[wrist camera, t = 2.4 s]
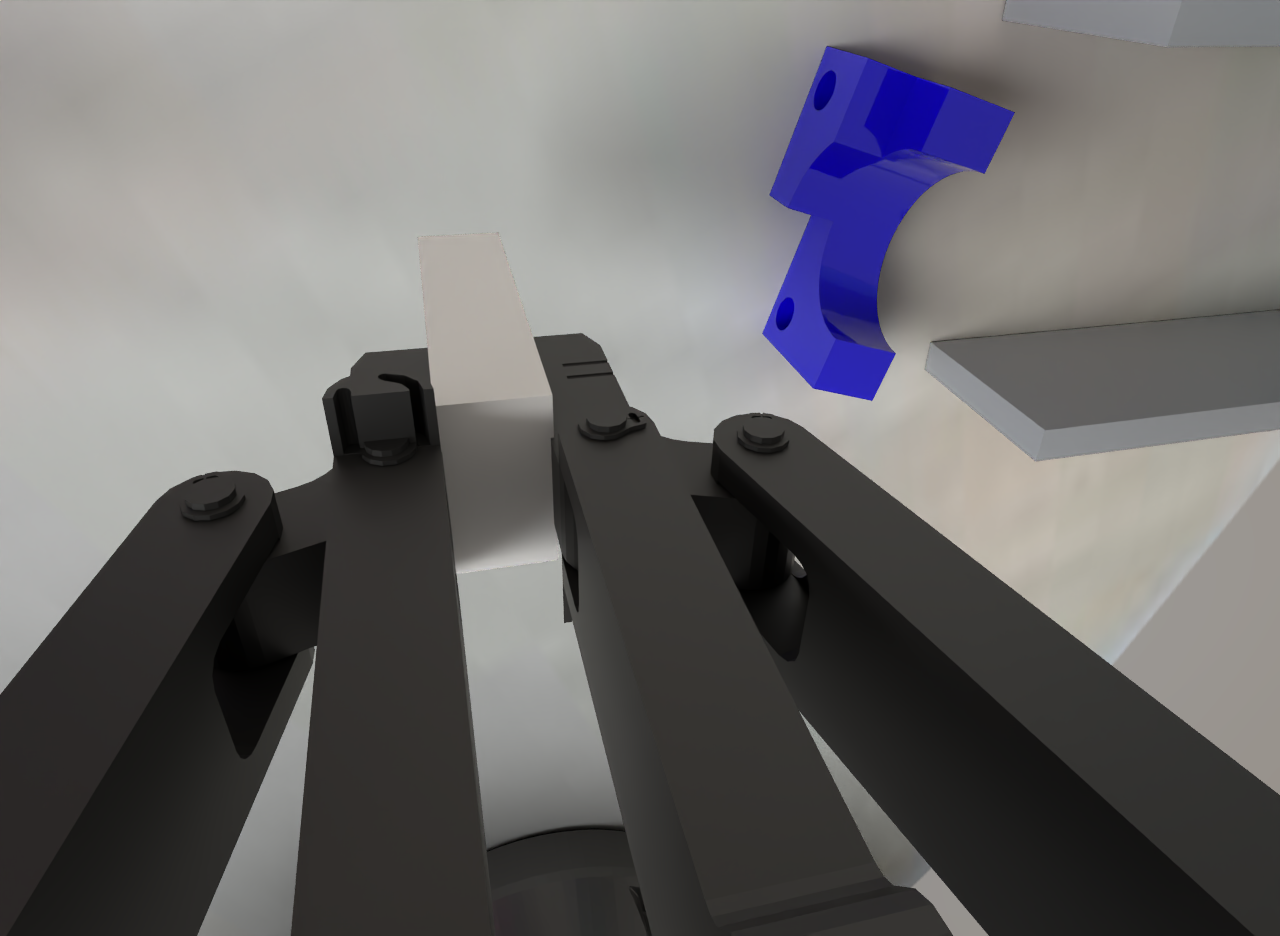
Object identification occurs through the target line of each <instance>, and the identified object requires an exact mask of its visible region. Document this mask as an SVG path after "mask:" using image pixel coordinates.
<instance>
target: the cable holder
mask: <svg viewBox="0 0 1280 936" xmlns="http://www.w3.org/2000/svg"><path fill="white" fill-rule="evenodd" d="M1014 113H1015V112H1013V111H1010V110H1007V109H1005V108H1002V107H1000V106H997V105H995V104H992V103H990V102H987V101H985V100H982V99H980V98H977V97H974V96H972V95H969V94H967V93H964V92H962V91H959V90H957V89H954V88H952V87H949V86H945V85H942V84H938V83H935V82H932V81H928V80H925V79H922V78H918V77H915V76H913V75H910V74H908V73H905V72H903V71H900V70H898V69H895V68H893V67H890V66H887V65H885V64H882V63H880V62H877V61H875V60H872V59H870V58H867V57H863V56H860V55H856V54H853V53H849V52H846V51H842V50H839V49H835V48H832V47H828V46H827V47H826V50H825V52H824V55H823V58H822V60H821V63H820V65H819V68H818V71H817V73H816V76H815V78H814V81H813V84H812V86H811V89H810V91H809V94H808V97H807V99H806V102H805V104H804V107H803V110H802V112H801V115H800V117H799V120H798V122H797V125H796V128H795V130H794V133H793V135H792V138H791V141H790V143H789V146H788V148H787V151H786V154H785V156H784V159H783V161H782V164H781V167H780V169H779V172H778V174H777V177H776V180H775V182H774V185H773V187H772V190H771V193H770V196H771V197H773V198H774V199H776V200H777V201H779V202H780V203H781V204H783V205H784V206H786V207H787V208H790V209H793V210H796V211H800V212H803V213H806V214H810V215H811V217H810V219H809V222H808V224H807V227H806V229H805V231H804V234H803V236H802V239H801V241H800V244H799V246H798V248H797V251H796V253H795V256H794V258H793V261H792V263H791V265H790V268H789V270H788V273H787V275H786V278H785V280H784V282H783V285H782V287H781V290H780V292H779V295H778V297H777V299H776V302H775V304H774V307H773V309H772V312H771V314H770V316H769V319H768V321H767V324H766V326H765V329H764V331H763V333H762V334H763V335H764V336H765V337H766V338H767V339H768V340H769V341H770V342H771V343H772V344H773V346H774V347H775V348H776V349H777V350H778V351H779V352H780V353H781V354H782V355H783V356H784V357H785V358H786V360H787V361H788V362H789V363H790V364H791V365H792V366H793V367H794V368H795V369H796V370H797V371H798V372H799V374H800V375H801V376H802V377H803V378H804V379H805V380H806V381H807V382H808V383H809V384H810V385H811V387H812V388H814V389H818V390H823V391H828V392H833V393H838V394H842V395H847V396H852V397H857V398H862V399H866V400H871V401H872V400H873V398H874V396H875V394H876V392H877V390H878V388H879V386H880V384H881V382H882V380H883V378H884V376H885V374H886V372H887V370H888V368H889V366H890V364H891V362H892V360H893V358H894V356H895V354H896V353H895V352H894V351H893V350H892V349H891V348H890V347H889V345H888V344H887V342H886V340H885V339H884V336H883V334H882V332H881V328H880V325H879V320H878V314H877V288H878V281H879V275H880V271H881V267H882V263H883V260H884V257H885V253H886V251H887V248H888V246H889V243H890V241H891V239H892V237H893V234H894V233H895V231H896V229H897V227H898V225H899V224H900V222H901V220H902V219H903V217H904V216H905V214H906V213H907V211H908V210H909V209H910V207H911V206H912V205H913V204H914V203H915V201H916V200H917V199H918V198H919V197H920V196H921V195H922V194H923V193H924V192H925V191H926V190H927V189H929V188H930V187H931V186H933V185H934V184H935V183H937V182H938V181H940V180H941V179H943V178H945V177H947V176H949V175H952V174H955V173H958V172H963V171H976V172H980V173H983V174H985V172H986V170H987V168H988V166H989V164H990V162H991V160H992V158H993V156H994V154H995V152H996V150H997V148H998V146H999V144H1000V141H1001V139H1002V137H1003V135H1004V133H1005V131H1006V129H1007V127H1008V125H1009V123H1010V121H1011V119H1012V117H1013V115H1014Z"/></svg>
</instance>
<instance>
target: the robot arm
mask: <svg viewBox="0 0 1280 936" xmlns="http://www.w3.org/2000/svg"><path fill="white" fill-rule="evenodd" d="M418 247H419V258H420V269H421V280H422V291H423V302H424V313H425V324H426V335H427V346H428V348H419V349H407V350H394V351H382V352H369V353H365V354H364V355H363V356H362V357H361V358H360V359H359V360H358V361H357V362H356V363H355V365H354V366H353V367H352V368H351V374H350V376H349V377H346V378H344V379H341V380H339V381H338V382H336V383H335V384H334V385H332V386H331V387H329V388H328V389H327V391H326V392H325V394H324V396H323V398H322V401H323V406H324V410H325V415H326V420H327V425H328V430H329V435H330V440H331V445H332V449H333V454H334V460H333V469H331V470H330V471H329V472H328V473H326V474H325V475H323V476H321V477H319V478H317V479H316V480H314V481H312V482H309V483H306V484H303V485H301V486H298V487H295V488H292V489H288V490H285V491H281V492H278V493H275V494H274V490H273V488H272V487H271V485H270V483H269V481H268V480H267V479H265V478H263V477H261V476H259V475H257V474H255V473H248V472H241V471H226V472H212V473H207V474H205V475H199V476H196V477H193V478H191V479H189V480H187V481H185V482H183V483H181V484H179V485H177V486H175V487H173V488H171V489H169V490H168V491H167V492H166V493H165V494H164V495H162V496H161V497H160V498H159V499H158V500H157V501H156V502H155V503H154V504H153V505H152V507H151V508H150V509H149V510H148V512H147V513H146V514H145V515H144V517H143V518H142V519H141V520H140V522H139V523H138V524H137V525H136V526H135V528H134V529H133V530H132V531H131V533H130V534H129V535H128V536H127V538H126V539H125V540H124V541H123V543H122V544H121V545H120V546H119V548H118V549H117V550H116V551H115V553H114V554H113V555H112V556H111V558H110V559H109V560H108V561H107V563H106V564H105V565H104V566H103V568H102V569H101V570H100V571H99V573H98V574H97V575H96V576H95V577H94V579H93V580H92V581H91V582H90V584H89V585H88V586H87V587H86V589H85V590H84V591H83V592H82V594H81V595H80V596H79V597H78V599H77V600H76V601H75V602H74V604H73V605H72V606H71V607H70V609H69V610H68V611H67V612H66V614H65V615H64V616H63V617H62V619H61V620H60V621H59V622H58V624H57V625H56V626H55V627H54V628H53V630H52V631H51V632H50V633H49V635H48V636H47V637H46V638H45V640H44V641H43V642H42V643H41V645H40V646H39V647H38V648H37V650H36V651H35V652H34V653H33V655H32V656H31V657H30V658H29V660H28V661H27V662H26V663H25V665H24V666H23V667H22V668H21V670H20V671H19V672H18V673H17V675H16V676H15V677H14V678H13V679H12V681H11V682H10V683H9V684H8V686H7V687H6V688H5V689H4V691H3V692H2V693H1V694H0V936H197V934H198V932H199V930H200V927H201V925H202V923H203V920H204V918H205V916H206V913H207V911H208V908H209V906H210V904H211V901H212V899H213V897H214V894H215V892H216V890H217V887H218V885H219V883H220V880H221V878H222V876H223V873H224V871H225V868H226V866H227V864H228V861H229V859H230V857H231V854H232V852H233V850H234V847H235V845H236V843H237V840H238V838H239V836H240V833H241V831H242V828H243V826H244V824H245V821H246V819H247V817H248V814H249V812H250V810H251V807H252V805H253V803H254V800H255V798H256V796H257V793H258V791H259V789H260V786H261V784H262V781H263V779H264V777H265V774H266V772H267V770H268V767H269V765H270V763H271V760H272V758H273V756H274V753H275V751H276V749H277V746H278V744H279V741H280V739H281V737H282V734H283V732H284V730H285V727H286V725H287V723H288V720H289V718H290V716H291V713H292V711H293V709H294V706H295V704H296V701H297V699H298V697H299V694H300V692H301V690H302V687H303V685H304V683H305V680H306V678H307V676H308V673H309V671H310V669H311V666H312V664H313V658H314V651H315V649H314V646H317V650H316V661H315V672H314V684H313V695H312V706H311V717H310V728H309V739H308V751H307V762H306V773H305V784H304V795H303V806H302V818H301V829H300V840H299V851H298V862H297V873H296V885H295V896H294V907H293V918H292V929H291V936H953V935H952V933H951V932H950V930H949V928H948V927H947V925H946V924H945V922H944V921H943V919H942V918H941V916H940V915H939V913H938V912H937V910H936V909H935V907H934V906H933V904H932V903H931V902H930V901H928V900H927V899H926V898H925V897H924V896H923V895H922V894H921V893H920V892H918V891H917V890H916V889H914V888H907V887H900V886H893V885H892V884H891V883H890V882H889V881H888V880H887V879H886V878H885V877H884V876H883V875H882V873H881V871H880V870H879V868H878V866H877V865H876V863H875V861H874V859H873V857H872V855H871V854H870V852H869V850H868V848H867V846H866V844H865V842H864V840H863V838H862V836H861V834H860V832H859V830H858V828H857V826H856V824H855V822H854V820H853V818H852V816H851V814H850V812H849V810H848V808H847V806H846V804H845V802H844V800H843V798H842V796H841V794H840V792H839V790H838V788H837V786H836V784H835V782H834V780H833V778H832V776H831V774H830V772H829V770H828V768H827V766H826V764H825V762H824V760H823V758H822V756H821V754H820V752H819V750H818V748H817V746H816V744H815V742H814V740H813V738H812V736H811V734H810V732H809V730H808V728H807V726H806V724H805V722H804V720H803V718H802V716H801V714H802V715H803V716H804V717H805V718H806V720H807V721H808V722H809V723H810V724H811V725H812V727H813V728H814V729H815V730H816V731H817V733H818V734H819V735H820V736H821V737H822V739H823V740H824V741H825V742H826V743H827V744H828V746H829V747H830V748H831V749H832V750H833V752H834V753H835V754H836V755H837V756H838V757H839V759H840V760H841V761H842V762H843V763H844V765H845V766H846V767H847V768H848V769H849V770H850V772H851V773H852V774H853V775H854V776H855V778H856V779H857V780H858V781H859V782H860V783H861V785H862V786H863V787H864V788H865V789H866V791H867V792H868V793H869V794H870V795H871V797H872V798H873V799H874V800H875V801H876V802H877V804H878V805H879V806H880V807H881V808H882V810H883V811H884V812H885V813H886V814H887V815H888V817H889V818H890V819H891V820H892V821H893V823H894V824H895V825H896V826H897V827H898V828H899V830H900V831H901V832H902V833H903V834H904V836H905V837H906V838H907V839H908V840H909V842H910V843H911V844H912V845H913V846H914V847H915V849H916V850H917V851H918V852H919V853H920V855H921V856H922V857H923V858H924V859H925V860H926V862H927V863H928V864H929V865H930V866H931V868H932V869H933V870H934V871H935V872H936V873H937V875H938V876H939V877H940V878H941V879H942V881H943V882H944V883H945V884H946V885H947V886H948V888H949V889H950V890H951V891H952V892H953V894H954V895H955V896H956V897H957V898H958V900H959V901H960V902H961V903H962V904H963V905H964V907H965V908H966V909H967V910H968V911H969V913H970V914H971V915H972V916H973V917H974V918H975V920H976V921H977V922H978V923H979V924H980V925H981V927H982V928H983V929H984V930H985V931H986V933H987V934H988V935H989V936H1280V795H1279V794H1278V793H1276V792H1275V791H1274V790H1272V789H1271V788H1270V787H1268V786H1267V785H1266V784H1265V783H1263V782H1262V781H1261V780H1259V779H1258V778H1257V777H1256V776H1254V775H1253V774H1252V773H1250V772H1249V771H1248V770H1246V769H1245V768H1244V767H1243V766H1241V765H1240V764H1239V763H1237V762H1236V761H1235V760H1233V759H1232V758H1231V757H1230V756H1228V755H1227V754H1226V753H1224V752H1223V751H1222V750H1220V749H1219V748H1218V747H1217V746H1215V745H1214V744H1213V743H1211V742H1210V741H1209V740H1208V739H1206V738H1205V737H1204V736H1202V735H1201V734H1200V733H1198V732H1197V731H1196V730H1195V729H1193V728H1192V727H1191V726H1189V725H1188V724H1187V723H1185V722H1184V721H1183V720H1182V719H1180V718H1179V717H1178V716H1176V715H1175V714H1174V713H1173V712H1171V711H1170V710H1169V709H1167V708H1166V707H1165V706H1163V705H1162V704H1161V703H1160V702H1158V701H1157V700H1156V699H1154V698H1153V697H1152V696H1150V695H1149V694H1148V693H1147V692H1145V691H1144V690H1143V689H1141V688H1140V687H1139V686H1138V685H1136V684H1135V683H1134V682H1132V681H1131V680H1129V679H1128V678H1127V677H1126V676H1124V675H1123V674H1122V673H1121V672H1119V671H1118V670H1117V669H1115V668H1114V667H1113V666H1112V665H1110V664H1109V663H1108V662H1106V661H1105V660H1104V659H1103V658H1101V657H1100V656H1099V655H1097V654H1096V653H1095V652H1093V651H1092V650H1091V649H1090V648H1088V647H1087V646H1086V645H1084V644H1083V643H1082V642H1080V641H1079V640H1078V639H1077V638H1075V637H1074V636H1073V635H1071V634H1070V633H1069V632H1068V631H1066V630H1065V629H1064V628H1062V627H1061V626H1060V625H1058V624H1057V623H1056V622H1055V621H1053V620H1052V619H1051V618H1049V617H1048V616H1047V615H1045V614H1044V613H1043V612H1042V611H1040V610H1039V609H1038V608H1036V607H1035V606H1034V605H1033V604H1031V603H1030V602H1029V601H1027V600H1026V599H1025V598H1023V597H1022V596H1021V595H1020V594H1018V593H1017V592H1016V591H1014V590H1013V589H1012V588H1010V587H1009V586H1008V585H1007V584H1005V583H1004V582H1003V581H1001V580H1000V579H999V578H998V577H996V576H995V575H994V574H992V573H991V572H990V571H988V570H987V569H986V568H985V567H983V566H982V565H981V564H979V563H978V562H977V561H975V560H974V559H973V558H972V557H970V556H969V555H968V554H966V553H965V552H964V551H963V550H961V549H960V548H959V547H957V546H956V545H955V544H953V543H952V542H951V541H950V540H948V539H947V538H946V537H944V536H943V535H942V534H940V533H939V532H938V531H937V530H935V529H934V528H933V527H931V526H930V525H929V524H928V523H926V522H925V521H924V520H922V519H921V518H920V517H918V516H917V515H916V514H915V513H913V512H912V511H911V510H909V509H908V508H907V507H905V506H904V505H903V504H902V503H900V502H899V501H898V500H896V499H895V498H894V497H893V496H891V495H890V494H889V493H887V492H886V491H885V490H883V489H882V488H881V487H880V486H878V485H877V484H876V483H874V482H873V481H872V480H870V479H869V478H868V477H867V476H865V475H864V474H863V473H861V472H860V471H859V470H858V469H856V468H855V467H854V466H852V465H851V464H850V463H848V462H847V461H846V460H845V459H843V458H842V457H841V456H839V455H838V454H837V453H835V452H834V451H833V450H832V449H830V448H829V447H828V446H826V445H825V444H824V443H823V442H821V441H820V440H819V439H817V438H816V437H815V436H813V435H812V434H811V433H810V432H808V431H807V430H806V429H804V428H803V427H801V426H800V425H798V424H796V423H794V422H792V421H790V420H788V419H785V418H781V417H778V416H774V415H772V414H766V413H763V414H760V413H750V414H744V415H736V416H733V417H731V418H728V419H726V420H724V421H722V422H721V423H720V424H719V425H718V426H717V427H716V428H715V429H714V438H713V444H712V443H699V442H687V441H680V440H673V439H669V438H666V437H662V436H660V434H659V432H658V430H657V428H656V426H655V424H654V422H653V421H652V420H651V419H650V418H649V417H648V416H647V414H646V413H643V412H641V411H639V410H637V409H635V408H633V407H629V405H628V403H627V401H626V398H625V396H624V394H623V392H622V390H621V388H620V386H619V384H618V382H617V380H616V377H615V375H613V371H612V369H611V367H610V365H609V363H607V359H606V356H605V354H604V352H603V350H602V348H601V346H600V345H599V344H597V343H596V342H594V341H593V340H591V339H590V338H588V337H587V336H585V335H584V334H582V333H579V334H567V335H554V336H541V337H533V335H532V332H531V329H530V326H529V323H528V320H527V317H526V314H525V311H524V308H523V305H522V302H521V299H520V296H519V293H518V290H517V287H516V284H515V281H514V278H513V275H512V272H511V269H510V266H509V263H508V260H507V257H506V254H505V251H504V248H503V245H502V242H501V239H500V236H499V233H480V234H461V235H441V236H422V237H418ZM558 540H559V544H560V548H561V552H562V570H563V601H564V623H566V622H572V621H573V625H574V629H575V633H576V636H577V640H578V644H579V648H580V652H581V656H582V660H583V664H584V668H585V672H586V676H587V680H588V684H589V688H590V692H591V696H592V700H593V704H594V708H595V712H596V716H597V720H598V724H599V728H600V732H601V736H602V740H603V744H604V747H605V751H606V755H607V759H608V763H609V767H610V771H611V775H612V779H613V783H614V787H615V791H616V795H617V799H618V803H619V807H620V811H621V815H622V819H623V823H624V827H625V831H626V832H622V831H614V830H576V831H565V832H558V833H552V834H546V835H541V836H536V837H532V838H528V839H524V840H521V841H517V842H514V843H511V844H507V845H504V846H501V847H499V848H496V849H493V850H491V851H488V852H487V851H486V842H485V833H484V823H483V814H482V805H481V796H480V786H479V777H478V768H477V758H476V749H475V740H474V730H473V721H472V712H471V703H470V693H469V684H468V675H467V665H466V656H465V647H464V637H463V628H462V619H461V610H460V600H459V592H458V584H457V575H456V574H460V573H467V572H474V571H482V570H489V569H497V568H504V567H511V566H519V565H526V564H533V563H541V562H548V561H555V560H558ZM795 556H796V557H797V559H798V560H799V561H800V563H801V564H802V566H803V568H804V569H803V568H802V567H801V566H800V565H799V564H798V563H797V562H796V561H795V560H794V558H795ZM799 711H800V712H801V714H800V712H799Z"/></svg>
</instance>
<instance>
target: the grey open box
mask: <svg viewBox="0 0 1280 936" xmlns="http://www.w3.org/2000/svg"><path fill="white" fill-rule="evenodd" d="M1002 20H1003V21H1009V22H1015V23H1021V24H1027V25H1034V26H1040V27H1046V28H1052V29H1058V30H1064V31H1070V32H1076V33H1083V34H1089V35H1095V36H1101V37H1107V38H1113V39H1119V40H1126V41H1132V42H1138V43H1144V44H1150V45H1156V46H1162V47H1259V46H1280V0H1006V4H1005V9H1004V13H1003V18H1002ZM925 370H926V371H927V372H928V373H930V374H931V375H932V376H933V377H934V378H936V379H937V380H938V381H939V382H940V383H942V384H943V385H944V386H945V387H947V388H948V389H949V390H950V391H951V392H953V393H954V394H955V395H956V396H957V397H959V398H960V399H961V400H962V401H963V402H965V403H966V404H967V405H968V406H969V407H971V408H972V409H973V410H974V411H975V412H977V413H978V414H979V415H980V416H981V417H983V418H984V419H985V420H986V421H987V422H989V423H990V424H991V425H992V426H993V427H995V428H996V429H997V430H998V431H1000V432H1001V433H1002V434H1003V435H1004V436H1006V437H1007V438H1008V439H1009V440H1010V441H1012V442H1013V443H1014V444H1015V445H1016V446H1018V447H1019V448H1020V449H1021V450H1022V451H1024V452H1025V453H1026V454H1027V455H1028V456H1030V457H1031V458H1032V459H1033V460H1034V461H1042V460H1050V459H1057V458H1065V457H1073V456H1080V455H1088V454H1095V453H1103V452H1111V451H1118V450H1126V449H1134V448H1141V447H1149V446H1157V445H1164V444H1172V443H1180V442H1187V441H1195V440H1203V439H1210V438H1218V437H1225V436H1233V435H1241V434H1248V433H1256V432H1264V431H1271V430H1279V429H1280V310H1273V311H1262V312H1251V313H1241V314H1230V315H1219V316H1208V317H1197V318H1187V319H1176V320H1165V321H1154V322H1143V323H1133V324H1122V325H1111V326H1100V327H1090V328H1079V329H1068V330H1057V331H1046V332H1036V333H1025V334H1014V335H1003V336H992V337H982V338H971V339H960V340H949V341H938V342H931V344H930V348H929V353H928V357H927V362H926V366H925Z"/></svg>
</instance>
